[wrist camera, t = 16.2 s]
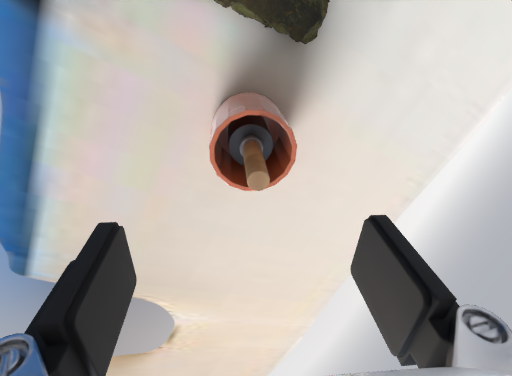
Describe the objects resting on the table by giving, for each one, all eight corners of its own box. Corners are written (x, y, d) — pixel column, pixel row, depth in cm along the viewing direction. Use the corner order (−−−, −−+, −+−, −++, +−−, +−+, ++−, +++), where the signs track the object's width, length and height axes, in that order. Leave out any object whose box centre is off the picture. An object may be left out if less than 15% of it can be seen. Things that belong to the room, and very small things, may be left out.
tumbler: (285, 92, 34) (301, 110, 27) (279, 160, 38) (291, 190, 32) (211, 91, 33) (207, 109, 26) (213, 160, 38) (211, 191, 31)
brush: (268, 111, 34) (289, 154, 23) (266, 149, 37) (284, 204, 26) (227, 111, 34) (229, 154, 23) (228, 149, 36) (229, 205, 25)
